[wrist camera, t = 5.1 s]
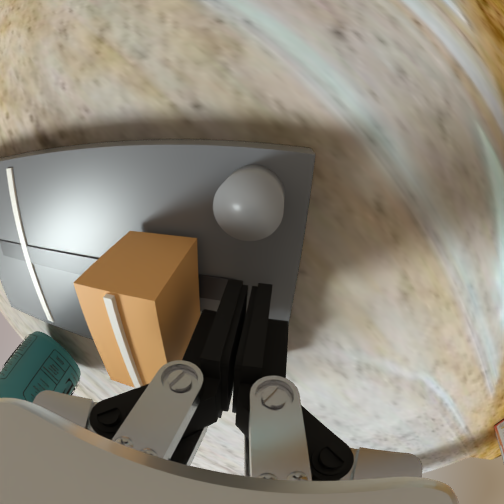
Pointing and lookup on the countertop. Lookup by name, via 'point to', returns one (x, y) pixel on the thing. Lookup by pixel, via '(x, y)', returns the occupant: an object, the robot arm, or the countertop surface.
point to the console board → (152, 216)
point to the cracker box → (500, 436)
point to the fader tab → (141, 303)
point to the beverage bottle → (38, 369)
